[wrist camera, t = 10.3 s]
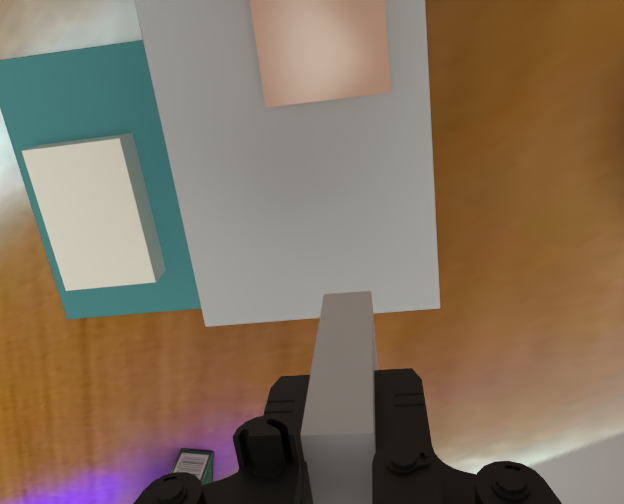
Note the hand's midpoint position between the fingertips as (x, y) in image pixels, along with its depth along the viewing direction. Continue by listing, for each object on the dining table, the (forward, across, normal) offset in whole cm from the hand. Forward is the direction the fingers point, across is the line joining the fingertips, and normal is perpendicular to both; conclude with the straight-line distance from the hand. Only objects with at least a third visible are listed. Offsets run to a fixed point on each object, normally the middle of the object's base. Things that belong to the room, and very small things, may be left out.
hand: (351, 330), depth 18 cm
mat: (+17, -16, +1) cm, 23 cm away
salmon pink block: (+14, -1, +10) cm, 17 cm away
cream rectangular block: (+15, -16, 0) cm, 22 cm away
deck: (+17, -3, +4) cm, 18 cm away
